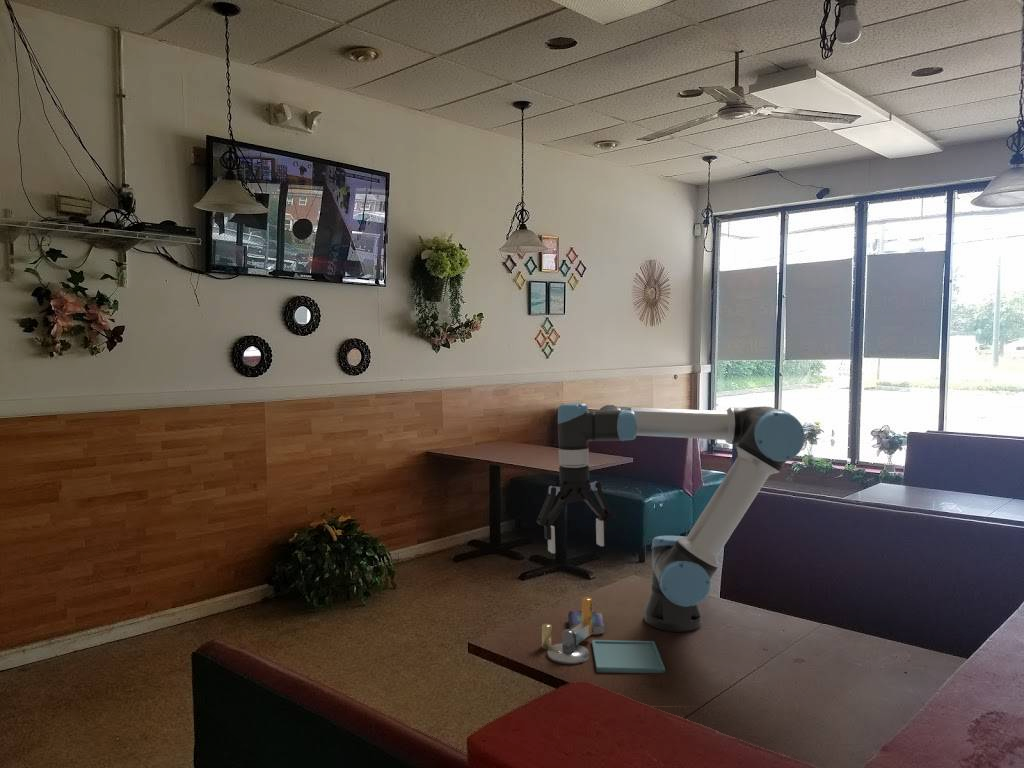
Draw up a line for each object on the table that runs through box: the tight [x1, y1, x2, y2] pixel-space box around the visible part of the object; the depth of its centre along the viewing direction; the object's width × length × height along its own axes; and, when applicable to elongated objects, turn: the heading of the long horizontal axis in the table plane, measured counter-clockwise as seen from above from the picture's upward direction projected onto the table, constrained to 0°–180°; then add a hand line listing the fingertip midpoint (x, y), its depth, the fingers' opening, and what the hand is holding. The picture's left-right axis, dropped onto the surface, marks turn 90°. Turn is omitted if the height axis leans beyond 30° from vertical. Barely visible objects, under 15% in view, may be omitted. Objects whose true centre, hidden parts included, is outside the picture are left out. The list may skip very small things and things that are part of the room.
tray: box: [591, 639, 666, 674], centre depth 178 cm, size 16×16×1 cm
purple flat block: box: [567, 609, 606, 638], centre depth 195 cm, size 9×3×11 cm
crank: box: [572, 596, 593, 645], centre depth 184 cm, size 9×3×9 cm, turn 148°
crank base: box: [541, 623, 590, 665], centre depth 179 cm, size 11×11×6 cm
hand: (576, 548), depth 186 cm, fingers open, 13 cm apart
